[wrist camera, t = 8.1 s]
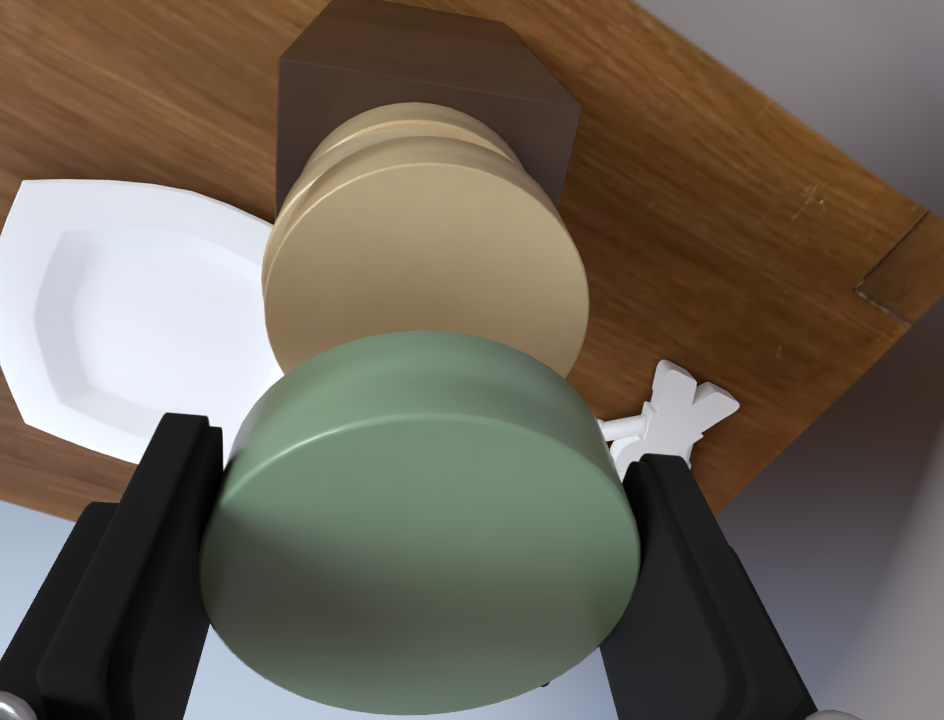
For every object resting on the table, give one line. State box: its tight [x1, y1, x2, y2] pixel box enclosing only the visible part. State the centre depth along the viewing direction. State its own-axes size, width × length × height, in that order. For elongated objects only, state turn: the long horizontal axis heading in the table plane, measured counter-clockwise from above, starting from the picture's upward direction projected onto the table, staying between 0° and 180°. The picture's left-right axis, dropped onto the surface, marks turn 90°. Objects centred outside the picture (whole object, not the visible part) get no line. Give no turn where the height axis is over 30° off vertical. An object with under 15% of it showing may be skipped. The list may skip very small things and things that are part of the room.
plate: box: [0, 179, 284, 468], centre depth 40 cm, size 19×19×2 cm
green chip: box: [198, 330, 641, 715], centre depth 10 cm, size 6×6×2 cm
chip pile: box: [261, 102, 590, 379], centre depth 17 cm, size 7×7×6 cm
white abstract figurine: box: [597, 360, 739, 483], centre depth 48 cm, size 9×12×2 cm
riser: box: [275, 0, 582, 222], centre depth 28 cm, size 8×8×18 cm
